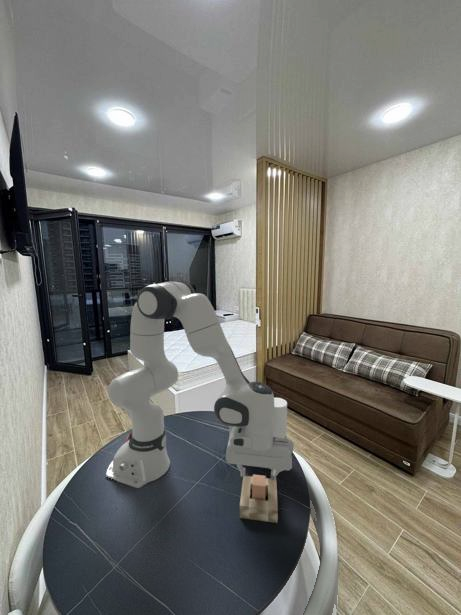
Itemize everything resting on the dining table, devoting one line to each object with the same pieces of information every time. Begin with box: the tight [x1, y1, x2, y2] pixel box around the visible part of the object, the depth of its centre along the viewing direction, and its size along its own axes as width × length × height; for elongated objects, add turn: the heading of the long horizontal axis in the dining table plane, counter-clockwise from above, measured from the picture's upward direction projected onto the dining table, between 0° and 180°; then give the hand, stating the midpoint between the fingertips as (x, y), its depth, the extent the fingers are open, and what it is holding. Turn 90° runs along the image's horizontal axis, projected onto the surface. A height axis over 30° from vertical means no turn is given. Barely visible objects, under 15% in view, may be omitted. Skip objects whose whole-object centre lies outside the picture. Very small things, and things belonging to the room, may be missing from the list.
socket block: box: [239, 475, 279, 524], centre depth 76 cm, size 11×11×4 cm
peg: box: [251, 473, 267, 501], centre depth 75 cm, size 4×4×8 cm
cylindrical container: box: [268, 397, 288, 473], centre depth 90 cm, size 7×7×25 cm
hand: (257, 476), depth 75 cm, fingers open, 8 cm apart
